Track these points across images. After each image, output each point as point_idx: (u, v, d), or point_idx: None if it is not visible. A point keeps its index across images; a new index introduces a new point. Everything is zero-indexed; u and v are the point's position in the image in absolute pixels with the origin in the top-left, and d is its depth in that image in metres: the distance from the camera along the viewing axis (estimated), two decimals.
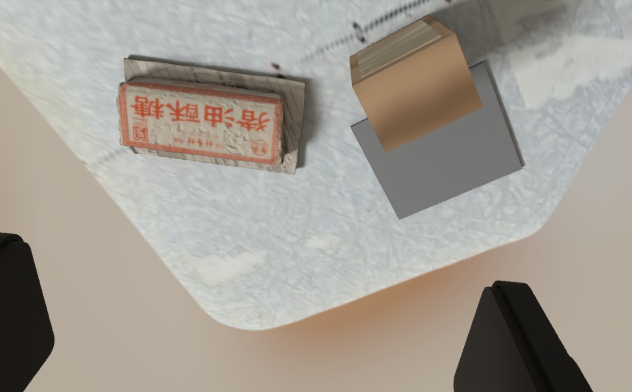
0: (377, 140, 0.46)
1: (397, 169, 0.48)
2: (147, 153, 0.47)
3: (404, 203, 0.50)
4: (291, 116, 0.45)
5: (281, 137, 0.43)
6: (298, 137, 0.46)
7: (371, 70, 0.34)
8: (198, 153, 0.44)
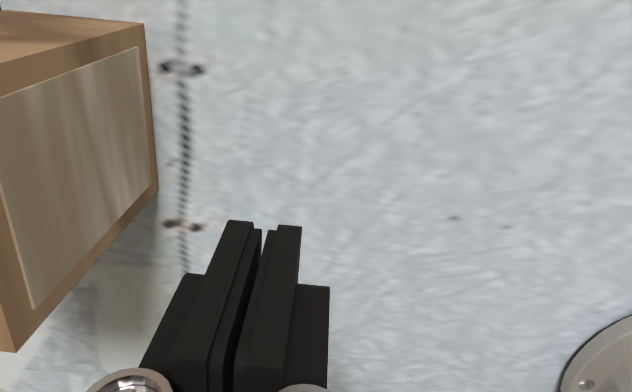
0: None
1: None
2: None
3: None
4: None
5: None
6: None
7: None
8: None
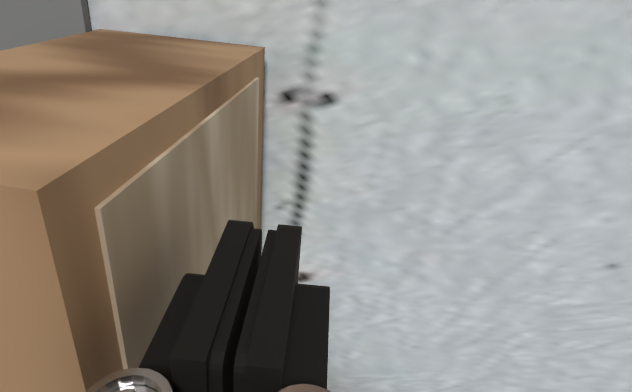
0: None
1: None
2: None
3: None
4: None
5: None
6: None
7: (118, 247, 0.07)
8: None
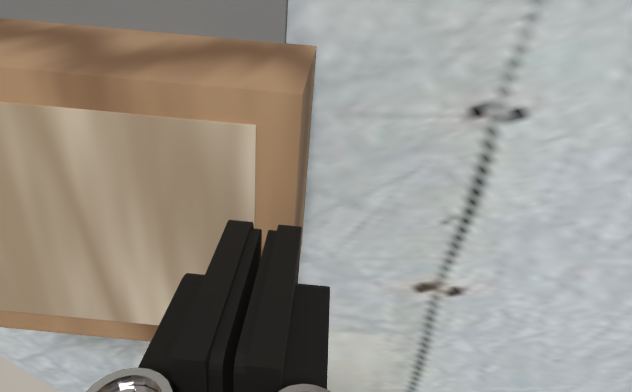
0: (208, 0, 0.14)
1: (89, 5, 0.15)
2: None
3: None
4: None
5: None
6: None
7: None
8: None
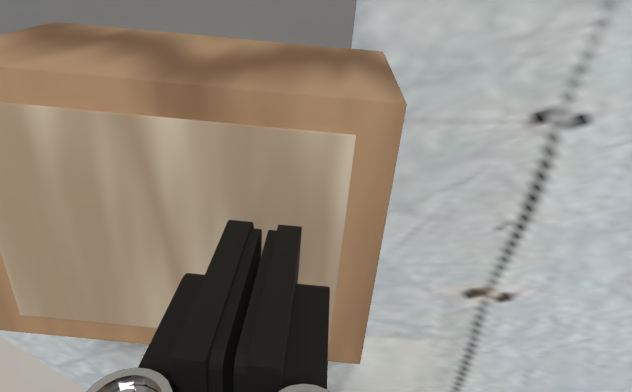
0: (276, 5, 0.14)
1: (154, 10, 0.15)
2: None
3: None
4: None
5: None
6: None
7: None
8: None
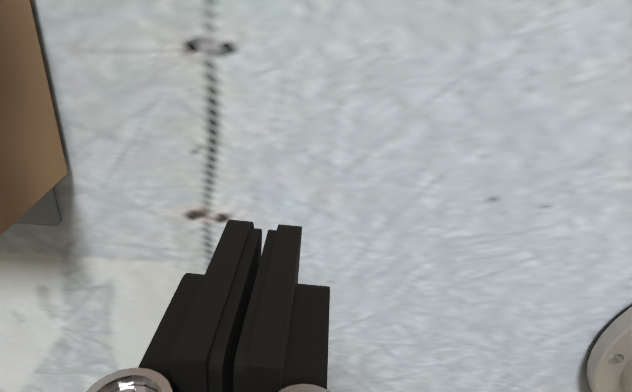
0: None
1: None
2: None
3: None
4: None
5: None
6: None
7: None
8: None
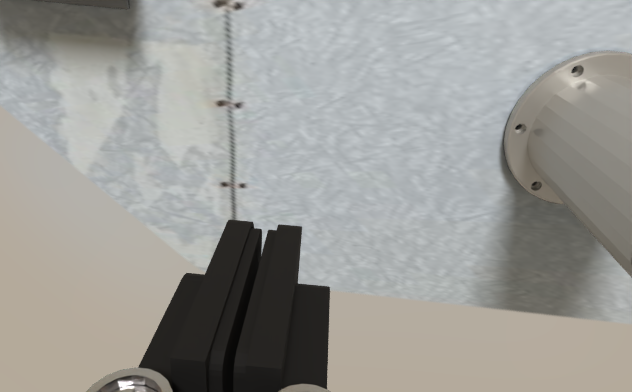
0: None
1: None
2: None
3: None
4: None
5: None
6: None
7: None
8: None
